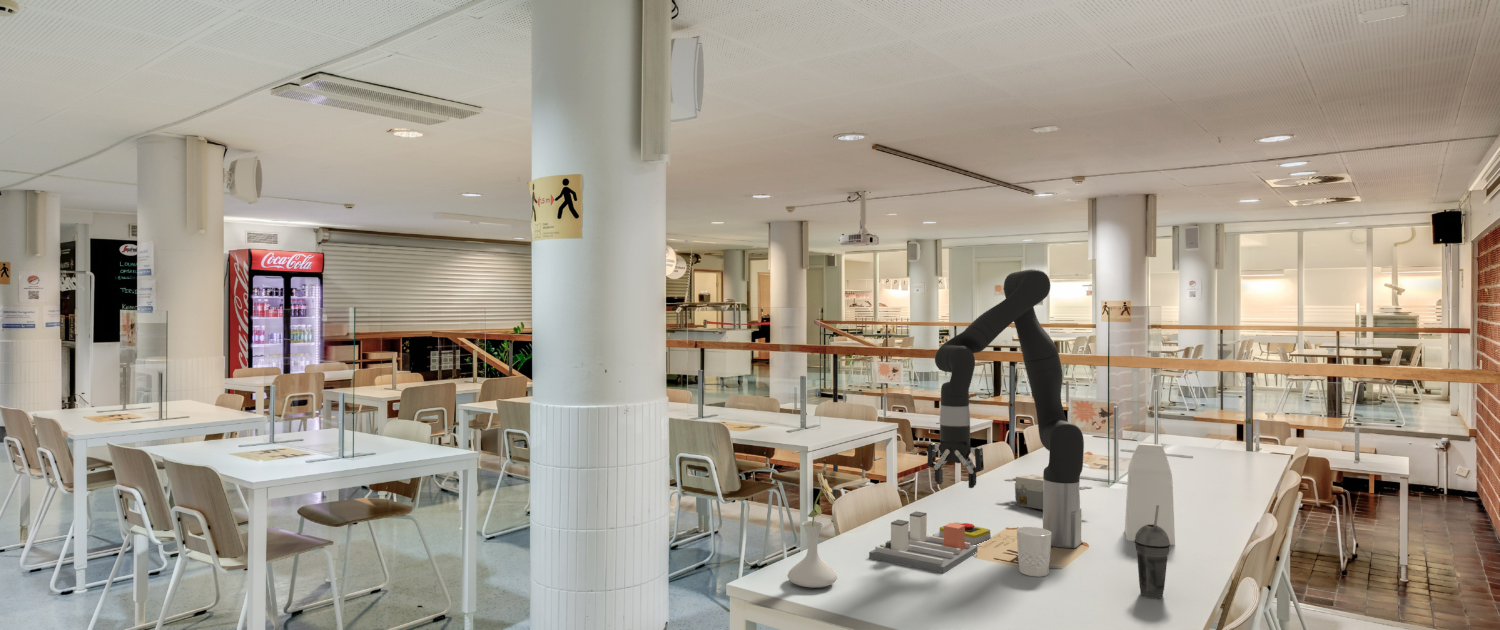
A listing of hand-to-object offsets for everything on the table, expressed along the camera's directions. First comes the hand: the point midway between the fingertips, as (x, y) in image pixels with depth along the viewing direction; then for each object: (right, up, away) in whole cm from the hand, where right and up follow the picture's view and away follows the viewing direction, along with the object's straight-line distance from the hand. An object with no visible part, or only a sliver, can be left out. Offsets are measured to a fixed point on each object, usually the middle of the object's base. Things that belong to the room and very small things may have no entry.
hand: (955, 485), depth 213 cm
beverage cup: (+36, -19, -29) cm, 50 cm away
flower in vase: (-38, -18, -23) cm, 48 cm away
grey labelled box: (+42, -18, +52) cm, 69 cm away
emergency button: (+6, -19, +16) cm, 26 cm away
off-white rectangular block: (-8, -16, +6) cm, 19 cm away
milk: (+59, -19, +19) cm, 65 cm away
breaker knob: (-15, -16, -3) cm, 22 cm away
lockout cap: (0, -16, 0) cm, 16 cm away
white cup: (+15, -18, -14) cm, 28 cm away
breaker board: (-8, -18, 0) cm, 20 cm away
